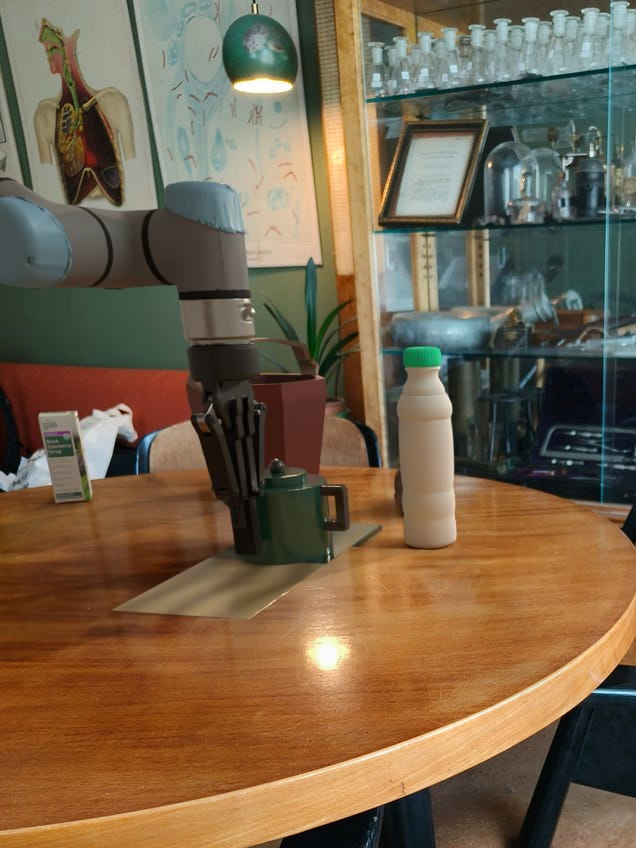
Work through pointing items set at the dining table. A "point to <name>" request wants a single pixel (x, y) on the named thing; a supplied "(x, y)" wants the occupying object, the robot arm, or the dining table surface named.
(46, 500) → the dining table surface
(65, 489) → the syrup box
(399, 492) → the perforated stone tool
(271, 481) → the kettle
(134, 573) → the dining table surface
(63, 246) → the robot arm
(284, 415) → the bucket
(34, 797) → the dining table surface
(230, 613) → the board
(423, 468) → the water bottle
